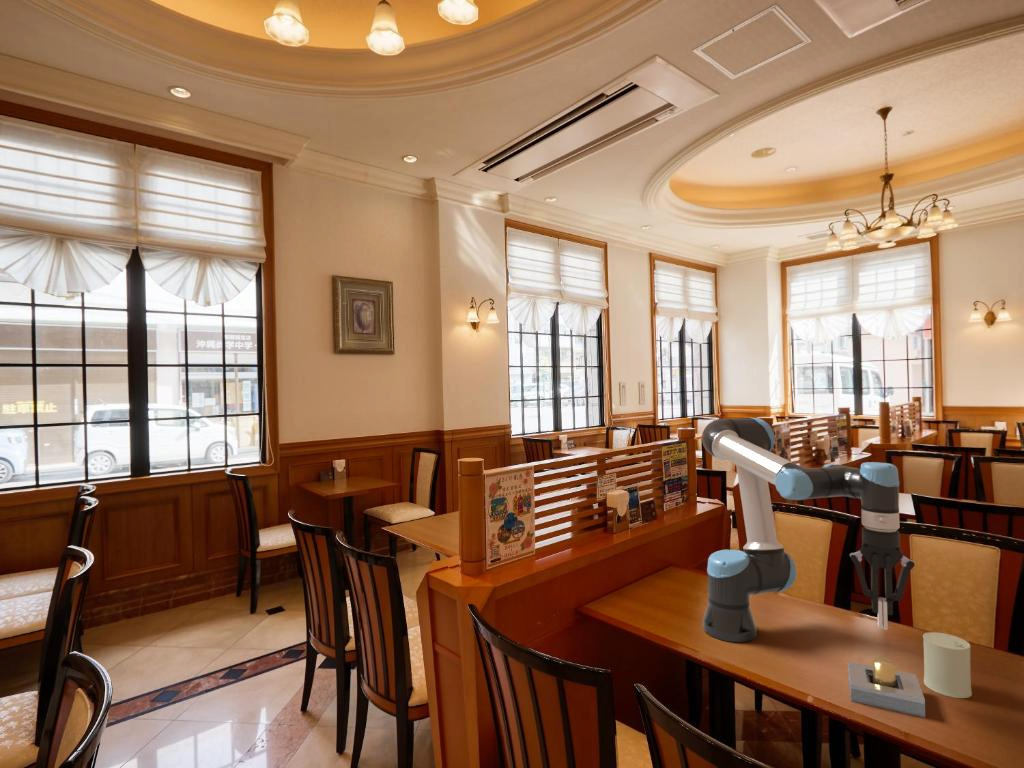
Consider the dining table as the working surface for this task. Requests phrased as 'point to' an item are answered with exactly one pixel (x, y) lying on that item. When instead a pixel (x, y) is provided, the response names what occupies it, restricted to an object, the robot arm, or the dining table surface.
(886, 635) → the dining table surface
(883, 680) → the golden yellow cylinder
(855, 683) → the block
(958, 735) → the dining table surface
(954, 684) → the can
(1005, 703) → the dining table surface
